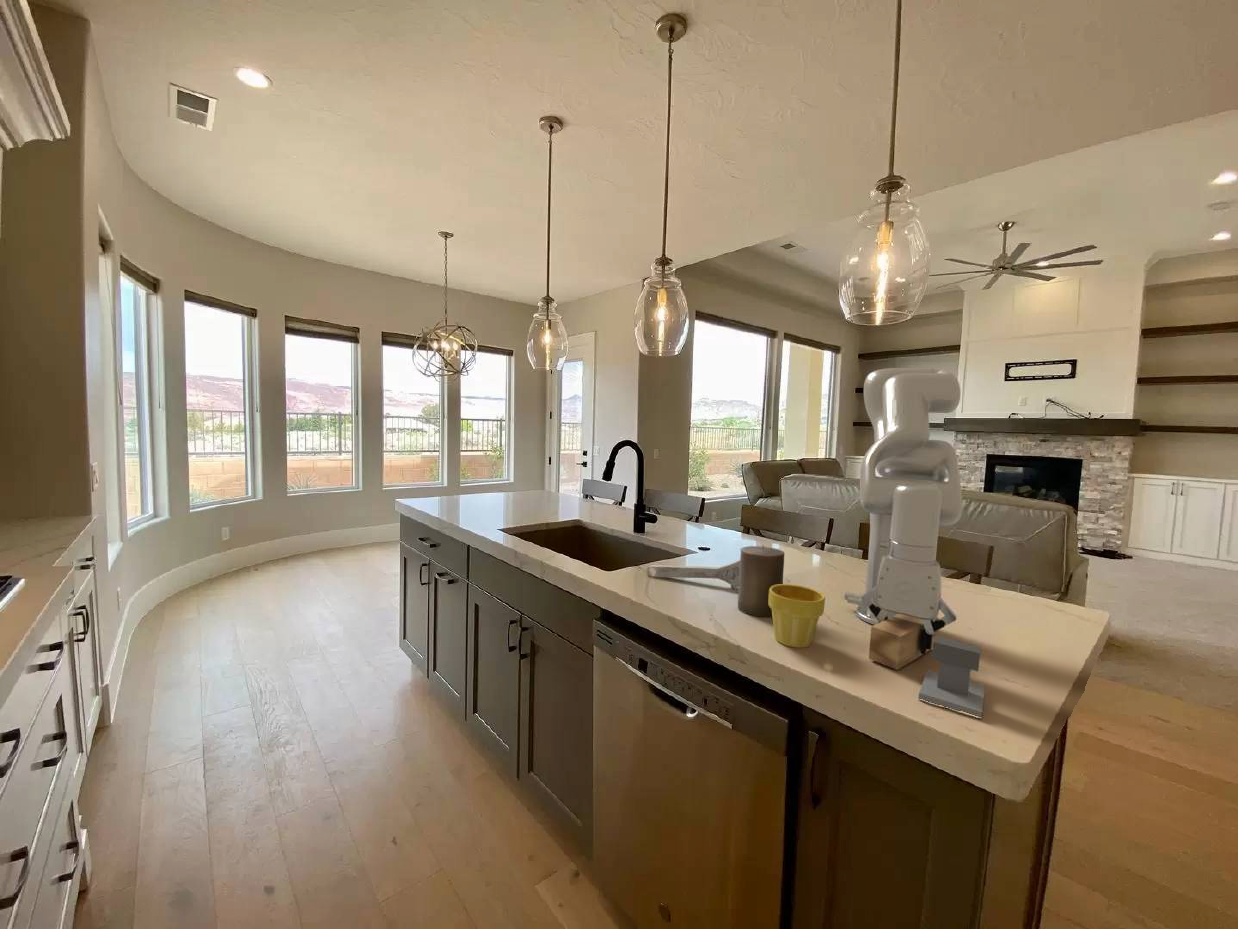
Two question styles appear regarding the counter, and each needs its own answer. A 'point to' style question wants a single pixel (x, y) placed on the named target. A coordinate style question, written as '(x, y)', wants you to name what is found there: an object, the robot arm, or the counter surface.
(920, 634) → the oak block
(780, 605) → the plant pot
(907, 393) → the robot arm
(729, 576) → the wrench
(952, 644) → the stand
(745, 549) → the pillar candle
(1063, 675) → the counter surface
